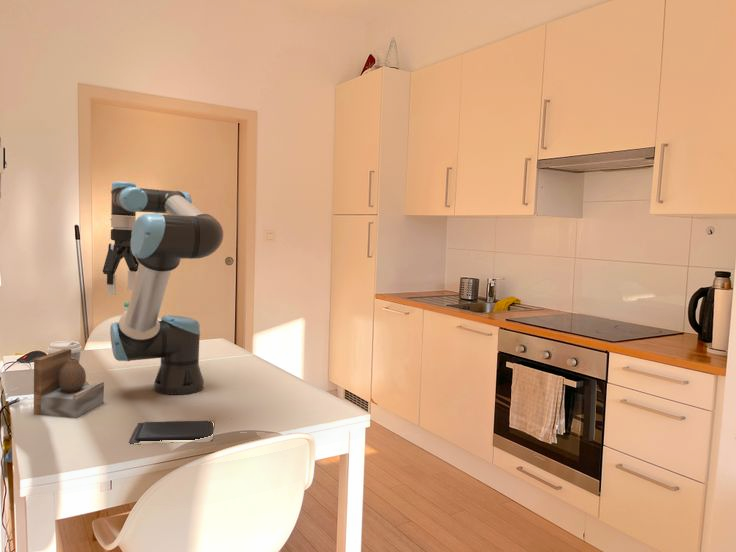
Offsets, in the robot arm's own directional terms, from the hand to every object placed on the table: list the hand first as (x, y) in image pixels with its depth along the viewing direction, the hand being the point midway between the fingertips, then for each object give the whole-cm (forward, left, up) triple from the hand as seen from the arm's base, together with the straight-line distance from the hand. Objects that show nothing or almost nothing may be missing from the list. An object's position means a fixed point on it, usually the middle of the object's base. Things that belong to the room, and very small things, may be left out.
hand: (121, 292), depth 191 cm
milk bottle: (+14, -34, -29) cm, 47 cm away
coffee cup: (+6, +21, -29) cm, 36 cm away
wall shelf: (-4, +34, -29) cm, 45 cm away
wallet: (-38, +45, -30) cm, 66 cm away
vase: (-4, +34, -24) cm, 42 cm away
